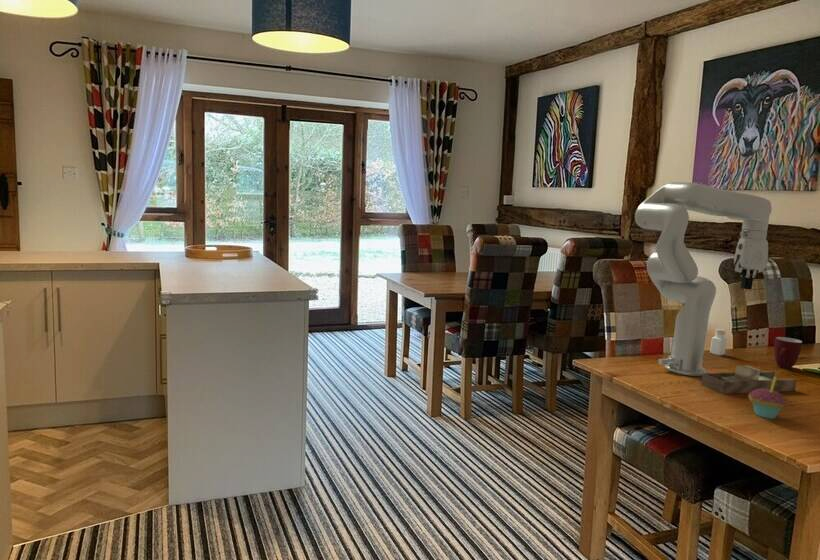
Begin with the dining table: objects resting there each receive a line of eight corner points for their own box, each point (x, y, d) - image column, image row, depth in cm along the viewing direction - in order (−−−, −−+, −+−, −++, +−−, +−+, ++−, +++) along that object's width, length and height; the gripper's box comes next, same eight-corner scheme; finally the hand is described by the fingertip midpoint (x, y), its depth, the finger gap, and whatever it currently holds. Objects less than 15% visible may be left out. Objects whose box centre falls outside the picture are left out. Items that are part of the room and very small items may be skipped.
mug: (796, 373, 202) (800, 345, 201) (768, 368, 207) (773, 340, 206) (798, 367, 211) (803, 340, 209) (772, 362, 215) (776, 335, 214)
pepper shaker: (719, 356, 220) (722, 331, 218) (709, 353, 223) (712, 328, 222) (725, 355, 222) (729, 330, 221) (715, 352, 225) (718, 327, 224)
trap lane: (722, 393, 175) (724, 382, 174) (700, 384, 183) (702, 373, 183) (794, 390, 183) (796, 379, 182) (771, 381, 191) (772, 371, 190)
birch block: (746, 383, 179) (748, 370, 178) (734, 378, 183) (736, 365, 182) (758, 382, 180) (760, 369, 179) (746, 378, 184) (747, 365, 183)
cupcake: (790, 421, 155) (798, 377, 153) (759, 420, 154) (766, 376, 152) (768, 409, 163) (775, 367, 162) (739, 408, 163) (745, 366, 161)
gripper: (744, 235, 196) (736, 290, 199) (780, 237, 200) (772, 290, 203) (727, 233, 203) (719, 286, 206) (762, 235, 207) (754, 287, 210)
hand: (745, 288), depth 204 cm, fingers closed
